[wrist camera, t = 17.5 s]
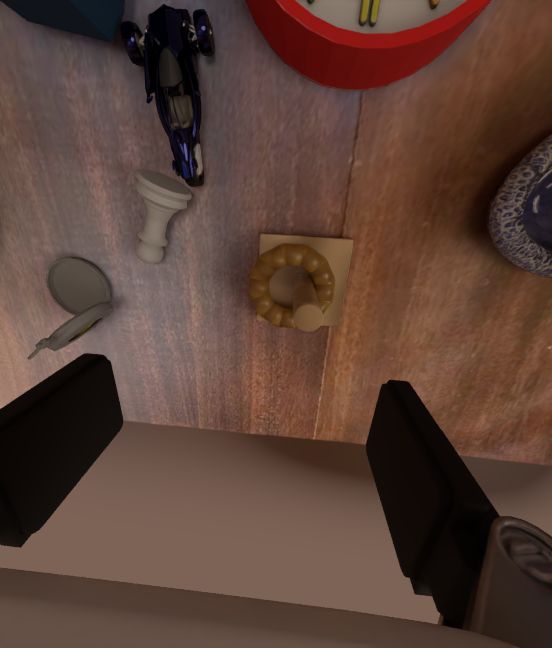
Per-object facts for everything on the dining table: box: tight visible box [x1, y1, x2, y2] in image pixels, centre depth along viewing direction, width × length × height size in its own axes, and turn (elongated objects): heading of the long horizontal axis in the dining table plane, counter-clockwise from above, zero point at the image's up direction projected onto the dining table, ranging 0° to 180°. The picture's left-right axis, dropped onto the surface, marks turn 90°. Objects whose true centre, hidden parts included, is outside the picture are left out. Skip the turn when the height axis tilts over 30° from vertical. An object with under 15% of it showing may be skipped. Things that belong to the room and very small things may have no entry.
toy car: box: [120, 4, 215, 187], centre depth 21 cm, size 12×6×4 cm, turn 5°
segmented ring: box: [249, 243, 335, 328], centre depth 26 cm, size 8×8×2 cm
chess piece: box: [135, 169, 192, 264], centre depth 25 cm, size 5×5×8 cm
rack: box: [257, 233, 354, 332], centre depth 23 cm, size 9×9×11 cm
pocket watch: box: [28, 257, 113, 359], centre depth 25 cm, size 8×8×10 cm
